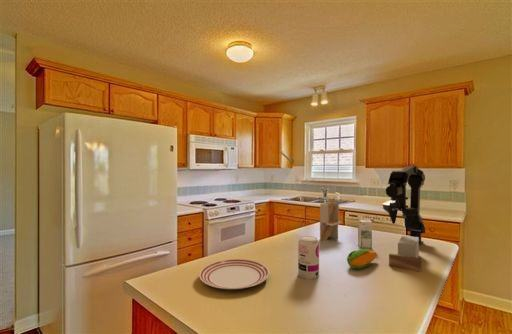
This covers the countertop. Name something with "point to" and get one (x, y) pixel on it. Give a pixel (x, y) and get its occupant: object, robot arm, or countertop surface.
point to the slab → (408, 246)
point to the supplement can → (308, 257)
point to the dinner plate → (234, 274)
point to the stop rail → (405, 262)
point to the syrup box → (364, 233)
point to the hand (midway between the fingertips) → (399, 225)
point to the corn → (361, 258)
